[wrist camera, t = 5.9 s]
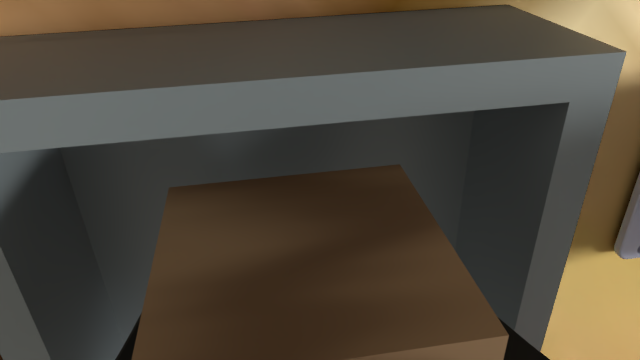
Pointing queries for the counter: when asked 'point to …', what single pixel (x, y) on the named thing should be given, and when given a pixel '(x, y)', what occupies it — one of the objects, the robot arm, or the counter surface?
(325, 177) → the walnut cube
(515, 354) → the robot arm
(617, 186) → the counter surface
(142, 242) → the grey tote
